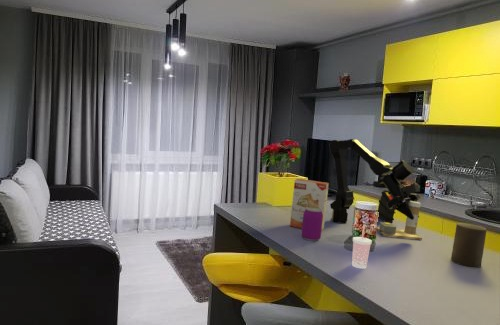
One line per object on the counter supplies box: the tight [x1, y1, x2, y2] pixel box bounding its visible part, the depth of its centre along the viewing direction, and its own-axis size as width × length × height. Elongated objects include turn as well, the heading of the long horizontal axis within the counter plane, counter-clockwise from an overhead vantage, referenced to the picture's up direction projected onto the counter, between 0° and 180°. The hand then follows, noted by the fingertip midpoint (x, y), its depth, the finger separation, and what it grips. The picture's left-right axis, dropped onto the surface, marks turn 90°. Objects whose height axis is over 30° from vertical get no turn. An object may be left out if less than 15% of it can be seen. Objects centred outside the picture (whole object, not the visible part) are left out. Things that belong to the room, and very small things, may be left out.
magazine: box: [377, 189, 397, 224], centre depth 202 cm, size 4×13×15 cm, turn 11°
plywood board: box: [376, 226, 423, 241], centre depth 177 cm, size 16×12×1 cm
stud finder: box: [379, 221, 397, 234], centre depth 177 cm, size 5×7×3 cm
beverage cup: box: [351, 224, 373, 269], centre depth 130 cm, size 6×6×14 cm
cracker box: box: [289, 178, 330, 231], centre depth 173 cm, size 14×6×21 cm, turn 68°
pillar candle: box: [450, 222, 488, 268], centre depth 144 cm, size 10×10×15 cm
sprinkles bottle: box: [404, 201, 422, 235], centre depth 165 cm, size 5×5×14 cm
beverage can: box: [301, 207, 323, 242], centre depth 158 cm, size 8×8×12 cm
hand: (415, 218), depth 164 cm, fingers closed on sprinkles bottle, 4 cm apart
